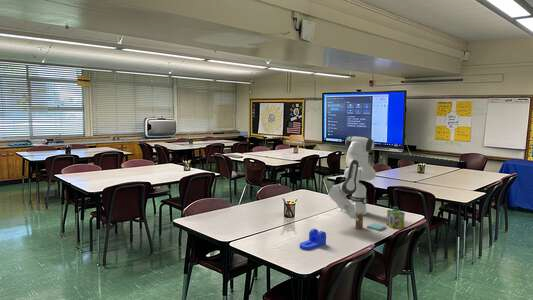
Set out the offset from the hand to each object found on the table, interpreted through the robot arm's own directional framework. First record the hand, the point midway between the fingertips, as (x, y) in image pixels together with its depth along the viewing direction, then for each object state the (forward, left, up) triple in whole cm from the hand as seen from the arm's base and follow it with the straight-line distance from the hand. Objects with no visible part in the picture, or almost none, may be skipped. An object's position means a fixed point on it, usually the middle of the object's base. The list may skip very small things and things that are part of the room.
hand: (358, 218), depth 256 cm
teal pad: (+9, +10, -7) cm, 16 cm away
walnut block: (+1, 0, -7) cm, 7 cm away
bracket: (0, -53, -7) cm, 54 cm away
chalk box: (+17, +24, -7) cm, 30 cm away
